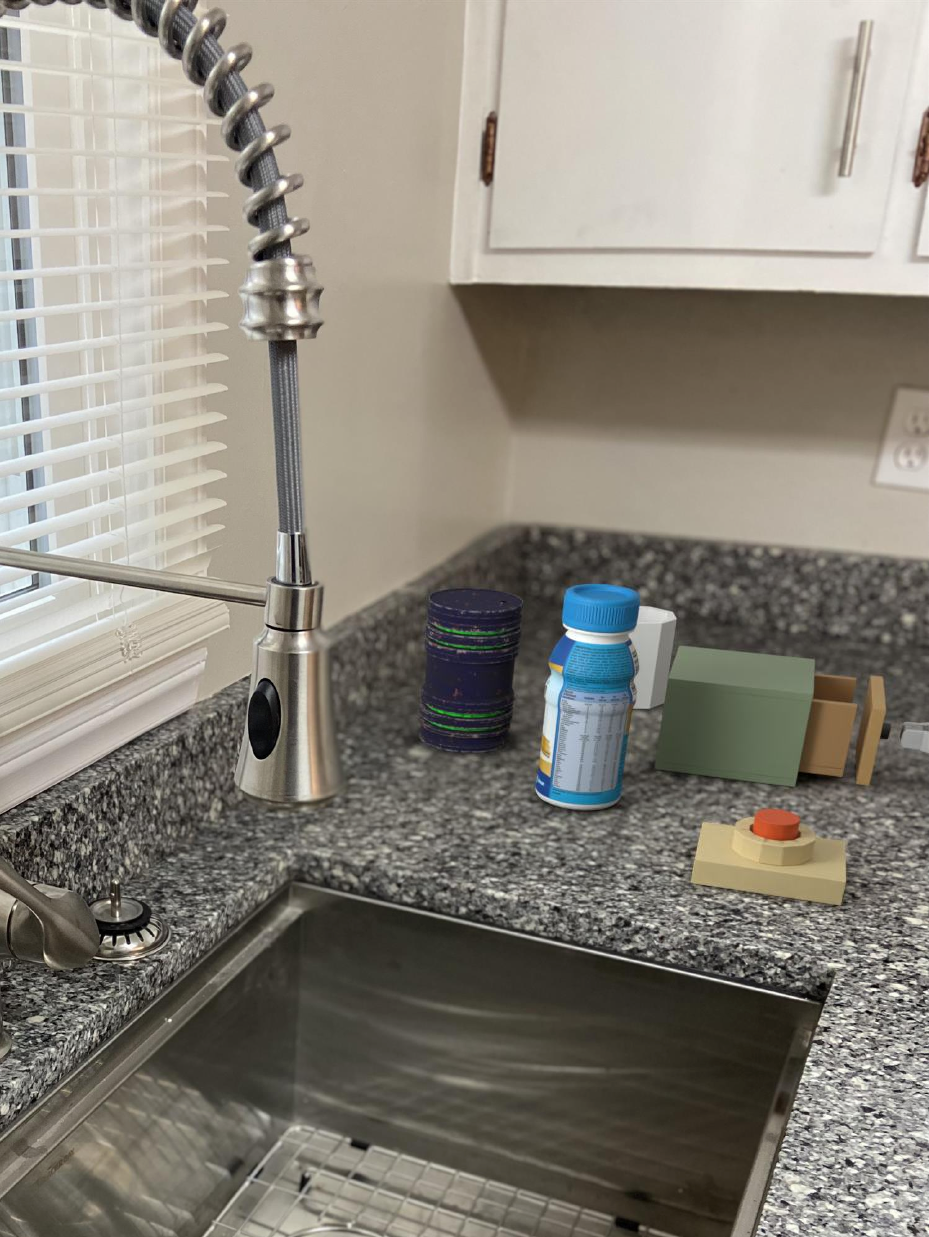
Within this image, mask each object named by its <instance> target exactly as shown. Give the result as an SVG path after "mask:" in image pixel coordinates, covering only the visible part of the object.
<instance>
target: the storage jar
mask: <svg viewBox="0 0 929 1237" xmlns="http://www.w3.org/2000/svg"><path fill="white" fill-rule="evenodd" d="M427 604H428V608H429V609H428V610H427V616H426V618H427V619H426V621H425V630H424V633H425V637H424V638H425V639H424V641H423V644H424V651H425V652H426V660H425V673H424V674H425V675H424V683H423V684H422V685H421V690H420V702H419V715H420V717H419V723H420V727H419V729H418V736H419V739H420V741H421V742H422V743H424V744H426V745H428V746H429V747H432V748H435V749H439V750H442V751H447V752H453V753H463V754H480V753H490V752H494V751H498V750H500V749H503V748H505V747H506V746H508V744H509V742H510V732H509V730H510V728H511V724H512V720H513V715H514V703H515V700H516V698H515V690H514V688H513V684H514V683H513V682H514V672H515V662H516V658H517V657H518V655H519V651H520V649H521V646H520V642H521V640H520V639H521V637H522V627H523V626H522V617H523V616H522V614H521V613H522V611H523V609H524V608H523V607H524V600H523V599H522V598H521V597H520V596H518V595H516V594H513V593H510V592H506V591H502V590H497V589H491V588H490V589H489V588H479V587H478V588H476V587H460V588H458V587H457V588H447V589H441V590H437V591H435V592H432V593H431V594H429V596H428V602H427Z"/></svg>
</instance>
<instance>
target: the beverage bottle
mask: <svg viewBox="0 0 929 1237" xmlns="http://www.w3.org/2000/svg"><path fill="white" fill-rule="evenodd" d="M563 598H564V599H563V606H562V616H561V622H562V626H563V627H564V628H565V629H566V632H565V633H563V635H562V636H561V638H560V639H559V640H558V642H557V643H556V644H555V646H554V647H553V650H552V652H551V654H550V657H549V660H548V666H549V669H550V672H551V673H550V675H549V677H548V679H547V680H546V682H545V685H544V689H543V690H544V691H543V697H544V701H545V705H544V715H543V724H542V727H543V728H542V735H541V744H540V751H539V752H540V753H539V762H538V768H537V774H536V777H535V787H534V789H535V792H536V794H537V796H538V797H539V798H540V800H543V801H544V802H546V803H547V804H550V805H551V806H555V807H558V808H562V809H566V810H572V811H599V810H604V809H608V808H610V807H612V806H615V805H616V804H617V803H619V801H620V799H621V798H622V791H623V778H624V777H623V776H624V768H625V763H626V762H625V761H626V755H627V750H628V741H629V734H630V728H631V722H632V715H633V710H634V709H633V707H634V705H635V703H636V697H637V689H636V687H635V684H634V678H635V676H636V675H637V673H638V671H639V661H638V656H637V652H636V650H635V647H634V645H633V643H632V641H631V639H630V637H629V636H628V634H630V633H632V632H633V631H634V630H635V627H636V625H637V620H638V614H639V607H640V606H641V596H640V594H639V593H638V591H636V590H634V589H632V588H629V587H625V586H621V585H615V584H606V583H584V584H578V585H573V586H570V587H569V588H567V589H566V591H565V594H564V597H563Z"/></svg>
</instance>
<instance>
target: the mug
mask: <svg viewBox="0 0 929 1237" xmlns="http://www.w3.org/2000/svg"><path fill="white" fill-rule="evenodd" d="M677 620H678V618H677V617H676V615H675V613H674V611H671V610H667V609H662V608H658V607H655V606H650V605H649V606H648V605H647V606H646V605H640V607H639V614H638V620H637V625H636V627H635V630H634V631H633V632H632V633H630V634H628V636H629V637H630V639H631V641H632V643H633V645H634V647H635V650H636V652H637V656H638V661H639V671H638V673H637V675H636V676H635V678H634V684H635V687H636V689H637V697H636V703H635V705H634V707H633V710H640V709H641V710H650V709H653V708H655V707H657V706H661V705H664V701H665V694H666V688H667V681H668V677H669V674H670V669H671V668H670V667H671V659H672V655H673V654H672V653H673V647H674V641H675V640H674V639H675V633H676V627H677Z"/></svg>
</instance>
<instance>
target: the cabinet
mask: <svg viewBox="0 0 929 1237" xmlns="http://www.w3.org/2000/svg"><path fill="white" fill-rule="evenodd" d="M815 672H816V659H815V658H806V657H797V656H796V657H795V656H788V655H787V656H786V655H777V654H767V653H766V654H765V653H756V652H747V651H737V650H728V649H727V650H726V649H717V648H708V647H698V646H689V645H679V646H678V648H677V651H676V655H675V657H674V660H673V663H672V665H671V668H670V670H669V674H668V681H667V688H666V694H665V701H664V703H663V708H662V709H663V710H662V713H661V714H662V716H661V723H660V728H659V734H658V741H657V748H656V755H655V762H654V768H653V769H654V770H657V771H664V772H665V771H666V772H674V773H681V774H688V775H689V774H690V775H697V776H705V777H711V778H712V777H714V778H719V779H729V780H736V781H745V782H751V783H760V784H766V785H767V784H768V785H775V786H783V787H791V788H795V787H796V786H797V780H798V775H799V772H798V770H799V765H800V760H801V755H802V750H803V745H804V740H805V735H806V730H807V725H808V720H809V715H810V709H811V704H812V699H813V694H814V673H815Z"/></svg>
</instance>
